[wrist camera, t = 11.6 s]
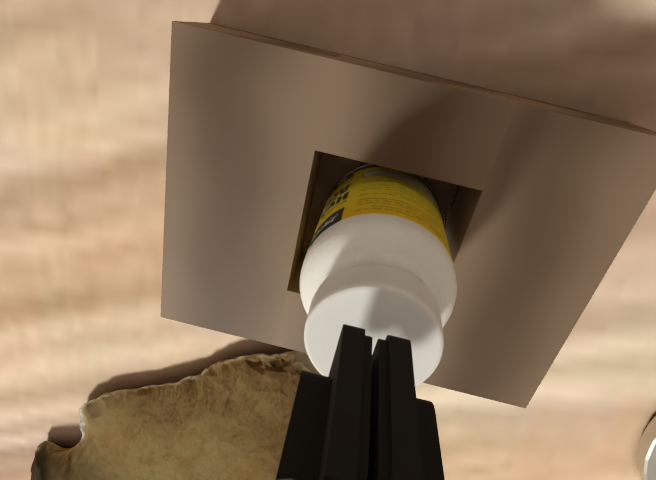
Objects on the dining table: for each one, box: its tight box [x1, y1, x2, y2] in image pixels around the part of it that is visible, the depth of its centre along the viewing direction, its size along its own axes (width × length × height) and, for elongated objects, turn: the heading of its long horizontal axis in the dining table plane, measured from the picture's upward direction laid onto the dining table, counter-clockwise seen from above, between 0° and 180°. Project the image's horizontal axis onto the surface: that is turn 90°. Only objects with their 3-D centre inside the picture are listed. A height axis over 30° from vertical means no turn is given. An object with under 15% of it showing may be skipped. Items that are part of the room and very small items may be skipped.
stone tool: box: [31, 351, 321, 480], centre depth 28 cm, size 12×4×25 cm
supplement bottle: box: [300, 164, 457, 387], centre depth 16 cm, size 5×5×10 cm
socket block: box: [161, 21, 656, 408], centre depth 19 cm, size 18×13×4 cm
